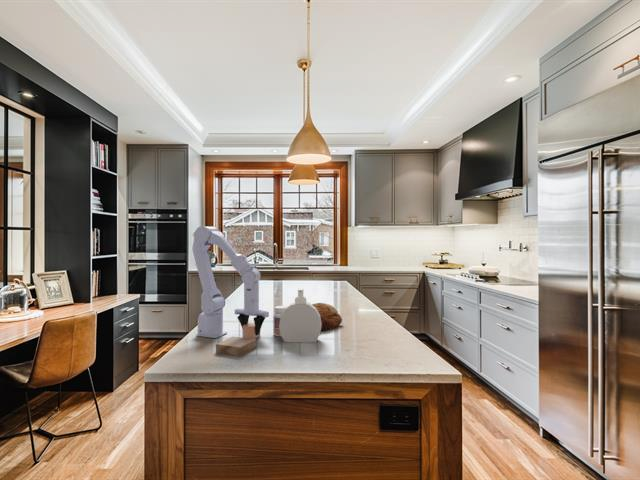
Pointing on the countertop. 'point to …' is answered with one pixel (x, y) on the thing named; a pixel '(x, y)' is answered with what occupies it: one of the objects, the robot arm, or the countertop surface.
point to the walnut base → (236, 346)
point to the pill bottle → (278, 319)
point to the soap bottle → (300, 321)
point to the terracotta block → (249, 331)
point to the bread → (328, 316)
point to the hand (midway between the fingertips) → (251, 333)
